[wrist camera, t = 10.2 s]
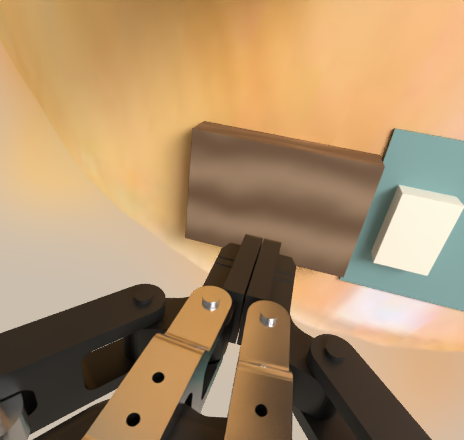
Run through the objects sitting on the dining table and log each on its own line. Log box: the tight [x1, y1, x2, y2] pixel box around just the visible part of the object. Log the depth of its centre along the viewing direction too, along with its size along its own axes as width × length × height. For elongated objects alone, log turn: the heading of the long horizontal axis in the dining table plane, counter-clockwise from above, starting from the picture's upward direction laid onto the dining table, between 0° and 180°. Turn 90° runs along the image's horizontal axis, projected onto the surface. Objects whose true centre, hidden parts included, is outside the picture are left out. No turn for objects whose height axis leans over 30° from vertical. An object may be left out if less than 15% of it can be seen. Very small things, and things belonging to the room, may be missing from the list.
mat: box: [340, 129, 464, 311], centre depth 38 cm, size 20×18×1 cm
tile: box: [371, 185, 464, 276], centre depth 38 cm, size 9×6×2 cm, turn 172°
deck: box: [185, 121, 385, 278], centre depth 40 cm, size 14×20×4 cm
